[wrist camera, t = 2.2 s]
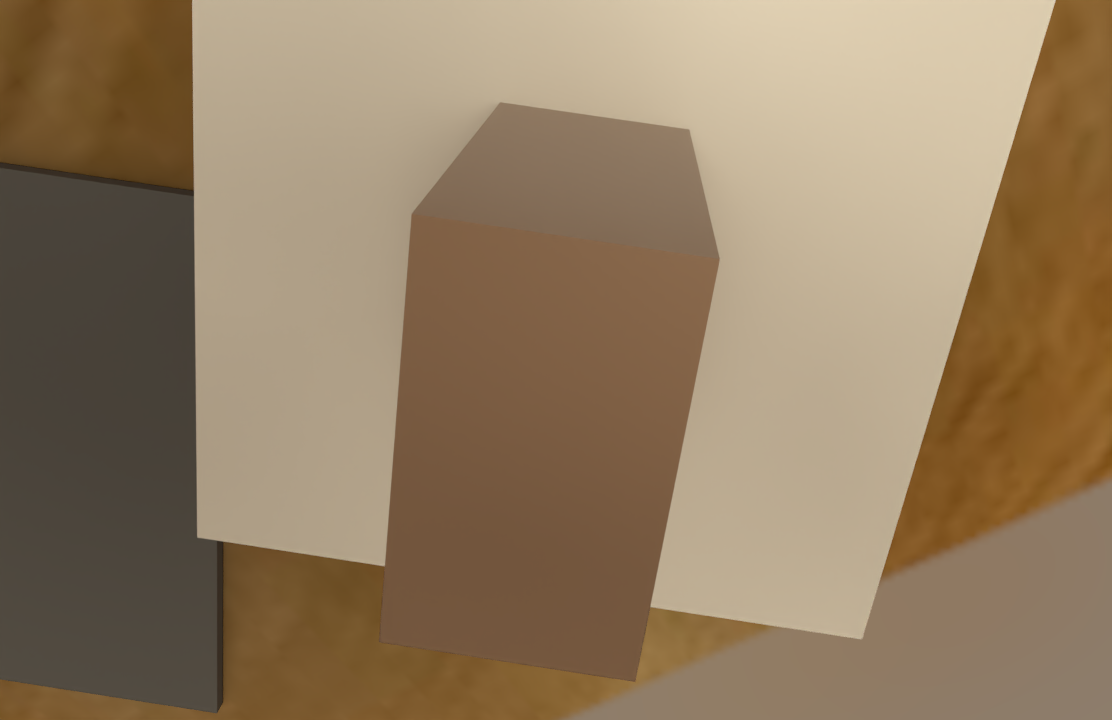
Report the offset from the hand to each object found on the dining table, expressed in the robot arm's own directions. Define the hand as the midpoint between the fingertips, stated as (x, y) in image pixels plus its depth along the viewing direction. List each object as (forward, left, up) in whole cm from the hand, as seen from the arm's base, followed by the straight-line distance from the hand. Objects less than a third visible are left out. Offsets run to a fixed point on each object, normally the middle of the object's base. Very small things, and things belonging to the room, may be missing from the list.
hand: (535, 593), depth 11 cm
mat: (-19, -11, -19) cm, 29 cm away
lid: (0, 0, -13) cm, 13 cm away
